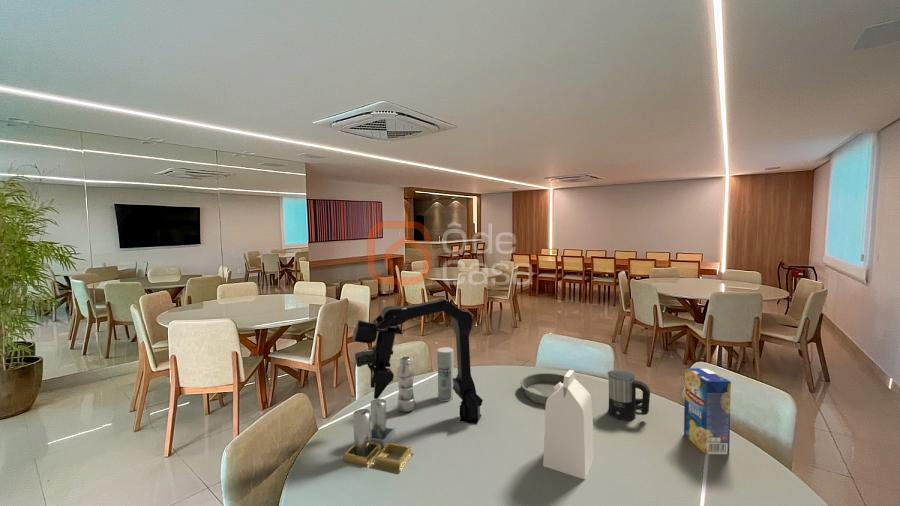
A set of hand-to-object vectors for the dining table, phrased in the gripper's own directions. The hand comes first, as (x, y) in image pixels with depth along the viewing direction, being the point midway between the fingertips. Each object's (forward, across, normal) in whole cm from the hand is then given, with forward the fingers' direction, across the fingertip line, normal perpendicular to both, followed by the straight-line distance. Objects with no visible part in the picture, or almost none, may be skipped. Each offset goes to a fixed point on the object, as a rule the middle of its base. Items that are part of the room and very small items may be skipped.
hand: (373, 392), depth 119 cm
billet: (+15, +2, +5) cm, 16 cm away
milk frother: (-6, +13, +92) cm, 93 cm away
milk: (+3, +31, +54) cm, 63 cm away
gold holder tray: (+15, +12, +3) cm, 20 cm away
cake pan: (-2, -10, +75) cm, 75 cm away
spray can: (+8, -21, +34) cm, 40 cm away
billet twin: (+15, +10, -1) cm, 18 cm away
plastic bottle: (+12, -16, +17) cm, 26 cm away
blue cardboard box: (-8, +38, +98) cm, 105 cm away
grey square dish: (+15, +2, +5) cm, 16 cm away
